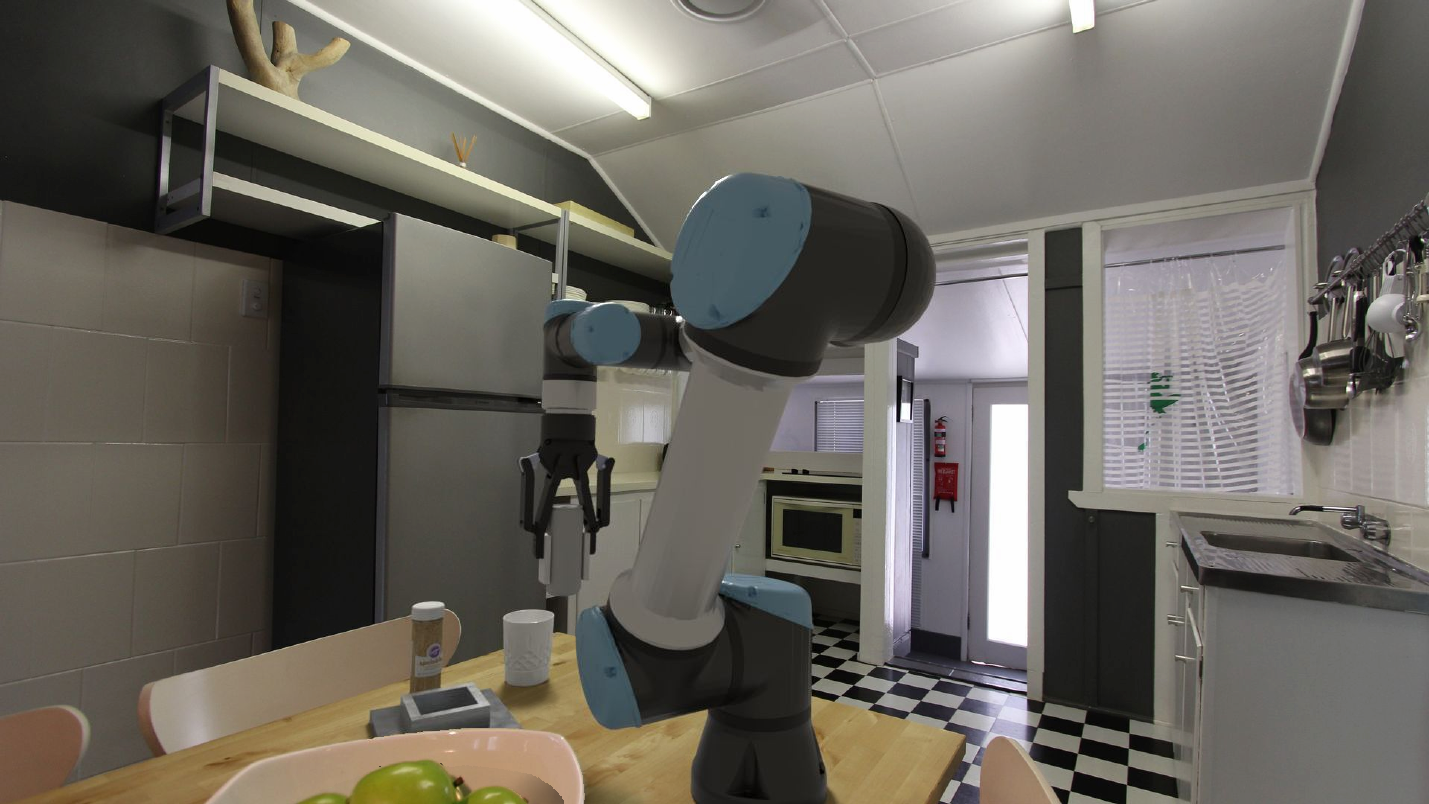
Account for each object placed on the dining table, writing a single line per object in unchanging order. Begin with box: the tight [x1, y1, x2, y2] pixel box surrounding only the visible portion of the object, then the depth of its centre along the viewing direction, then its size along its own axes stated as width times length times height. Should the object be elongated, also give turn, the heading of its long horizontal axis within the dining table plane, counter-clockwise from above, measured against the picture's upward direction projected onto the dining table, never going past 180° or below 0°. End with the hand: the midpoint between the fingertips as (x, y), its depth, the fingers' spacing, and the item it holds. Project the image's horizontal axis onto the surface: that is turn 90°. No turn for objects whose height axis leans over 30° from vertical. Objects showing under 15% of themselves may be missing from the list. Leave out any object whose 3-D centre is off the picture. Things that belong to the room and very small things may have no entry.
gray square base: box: [369, 681, 524, 738], centre depth 88 cm, size 16×16×4 cm
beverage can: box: [545, 503, 584, 597], centre depth 93 cm, size 5×5×12 cm
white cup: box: [502, 609, 555, 687], centre depth 107 cm, size 8×8×10 cm
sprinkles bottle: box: [408, 601, 446, 694], centre depth 100 cm, size 5×5×13 cm
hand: (563, 579), depth 93 cm, fingers closed on beverage can, 5 cm apart
